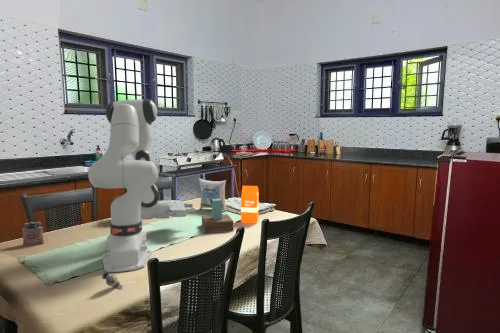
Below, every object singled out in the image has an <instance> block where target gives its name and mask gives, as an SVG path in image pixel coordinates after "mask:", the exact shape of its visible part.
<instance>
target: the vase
mask: <svg viewBox="0 0 500 333" xmlns="http://www.w3.org/2000/svg"><path fill="white" fill-rule="evenodd" d="M117 271H118V270H117ZM101 278H102V280H105V283H106V285H107V286H109V287H113V288H115V289H118V291H119V290H121V289H122V288H123V285H122V284H121V283H120V281H119V280H118V279H119V278H118V277H117V276H116V275H115V274H110V272H105V273H103V274H102V276H101Z"/></svg>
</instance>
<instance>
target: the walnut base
mask: <svg viewBox="0 0 500 333" xmlns="http://www.w3.org/2000/svg"><path fill="white" fill-rule="evenodd" d="M201 226H202V229H203V230H204V232H205V234H212V233H220V232H221V233H223V232H232V231H233V232H234V220H233V219H232V218H231V217H230V216H229V214H228V213H227V214H226V213H225V214H224V213H222V219H220V220H213V218H212V214H211V215H208V214H207V215H201Z"/></svg>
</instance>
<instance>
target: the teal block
mask: <svg viewBox="0 0 500 333" xmlns="http://www.w3.org/2000/svg"><path fill="white" fill-rule="evenodd" d="M211 215H212V218H213V220H220V219H222V215H223V210H222V200H221V199H212V208H211Z"/></svg>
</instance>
